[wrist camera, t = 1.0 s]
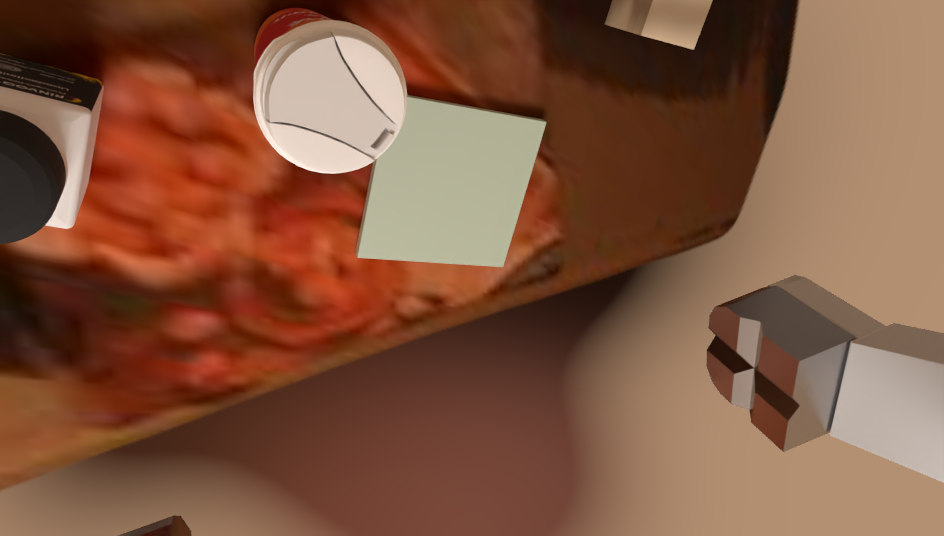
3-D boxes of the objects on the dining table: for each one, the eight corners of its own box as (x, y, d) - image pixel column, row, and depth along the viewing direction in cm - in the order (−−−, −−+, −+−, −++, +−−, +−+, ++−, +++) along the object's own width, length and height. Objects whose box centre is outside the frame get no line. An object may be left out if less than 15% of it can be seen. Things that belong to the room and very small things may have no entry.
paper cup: (378, 43, 44) (443, 92, 33) (311, 131, 45) (353, 208, 34) (281, -40, 40) (318, -15, 29) (210, 60, 41) (219, 122, 30)
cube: (626, -46, 48) (666, -41, 44) (677, -29, 50) (720, -22, 46) (604, 23, 50) (640, 35, 46) (654, 37, 52) (693, 49, 48)
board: (386, 91, 46) (389, 93, 45) (542, 119, 52) (546, 121, 51) (355, 253, 51) (357, 257, 51) (499, 262, 57) (502, 266, 56)
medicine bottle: (105, 79, 40) (79, 139, 30) (88, 186, 42) (58, 272, 32) (-39, 41, 36) (-122, 94, 26) (-49, 159, 39) (-128, 247, 29)
